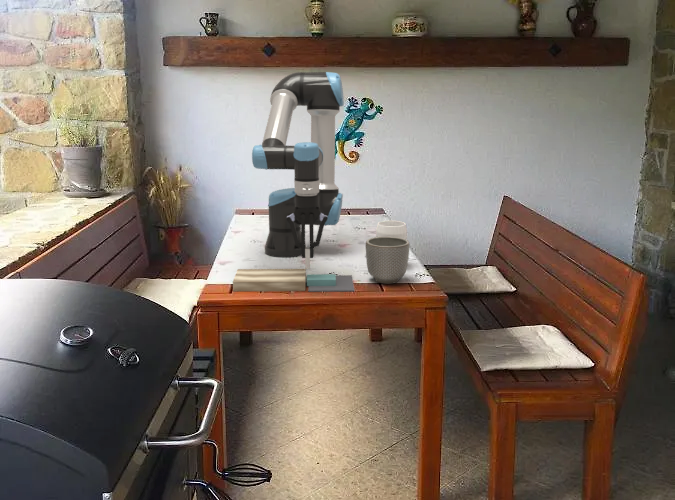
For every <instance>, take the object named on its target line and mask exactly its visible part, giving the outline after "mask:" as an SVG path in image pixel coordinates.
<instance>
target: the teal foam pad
mask: <svg viewBox="0 0 675 500" xmlns="http://www.w3.org/2000/svg"><path fill="white" fill-rule="evenodd" d="M309 286H336V274H333V273H332V274H330V273H329V274H328V273H327V274H326V273H325V274H323V273H321V274H319V273H317V274H316V273H314V274H310V273H308V274H307V273H306V287H309Z"/></svg>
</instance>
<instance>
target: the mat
mask: <svg viewBox="0 0 675 500" xmlns="http://www.w3.org/2000/svg"><path fill="white" fill-rule="evenodd" d="M307 291H308V292H309V293H319V292H320V293H323V292H324V293H325V292H329V293H331V292H333V293H334V292H335V293H337V292H339V293H340V292H349V293H350V292H355V287H354V280H353V276H352V274H351V275H349V274H348V275H347V274H346V275H343V274H342V275H341V274H339V275H338V274H337V275H336V286H308V290H307Z"/></svg>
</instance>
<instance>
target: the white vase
mask: <svg viewBox="0 0 675 500" xmlns="http://www.w3.org/2000/svg"><path fill="white" fill-rule="evenodd" d="M375 237H398V238H403V239H406V240H408V239H407V238H408V229H407V224H406V223H405V222H404V221H399V220H383V221H382V220H381V221H378V222H377V225H376V229H375Z"/></svg>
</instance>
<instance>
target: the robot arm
mask: <svg viewBox="0 0 675 500" xmlns="http://www.w3.org/2000/svg"><path fill="white" fill-rule="evenodd" d="M342 82H343V81H342V78H341V76H340V74H339V73H337V72H331V71H318V72H317V71H316V72H313V71H311V72H306V71H305V72H304V71H303V72H302V71H301V72H300V71H297V72H292V73H290V74H288V75H287V76H285V77H283V78H282V79H281V80H280V81H279V82H278V83H276V85H275V87H274V88H273V89H272V92H271V95H270V99H269V100H270V101H269V102H270V105H271V108H270V110H269V114H268V119H267V122H266V125H265V126H266V127H265V131H264V135H263V137H262V138H263V139H262V143H261V144H257V145H254V146H253V148H252V149H251V150H252V153H251V161H252V166H253V167H254V169H258V170H259V169H260V170H261V169H262V170H294V180H293V181H294V182H293V183H294V187H290V188H289V187H288V188H281V189H278V190H277V189H276V190H274V191H272V192H270V193H269V195H268V205H267V207H268V235H267V239H266V241H265V245H264V253H265V255H268V256H272V257H276V258H277V257H278V258H279V257H281V258H289V257H290V258H291V257H297V256H301V259H305V260H304V261H305V262H304V263H305V264H304V265H305V267H304V269H306V270H310V269H311V259H314V255H315V254H314V253H315V252H314V251H315V248H316V247H319V246H320V243H321V239H322V235H323V231H324V227H325V226H336V225H338V223H339V221H340V218H341V213H342V208H343V207H342V206H343V196H344V195H343V193H341V192H340V191H339V187H338V186H337V185H336V183H335V182H336V181H335V177H336V176H335V173H336V172H335V171H336V170H335V166H336V165H335V164H336V159H335V158H336V150H335V149H336V117H337V115H338V113H340V110H341V109H340V107H343V106H344V105H345V102H344V101H345V99H344V91H343V89H344V88H343V83H342ZM297 106H303V107H306V112H307V113H308V114H310V142H308V141H307V142H306V141H304V142H303V141H302V142H296V143H295V144H294V145H287V140H288V136H289V133H290V132H289V131H290V127H291V121H292V118H293V112H294V111H295V110H296V109H297ZM307 225H308V228H309V233H308V235H309V246H307V245H306V226H307ZM314 226H318V230H317V233H316V234H317V235H316V238H315V237H314ZM314 238H315V241H314Z"/></svg>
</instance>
